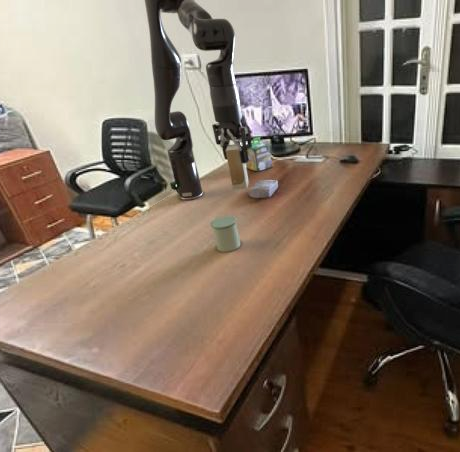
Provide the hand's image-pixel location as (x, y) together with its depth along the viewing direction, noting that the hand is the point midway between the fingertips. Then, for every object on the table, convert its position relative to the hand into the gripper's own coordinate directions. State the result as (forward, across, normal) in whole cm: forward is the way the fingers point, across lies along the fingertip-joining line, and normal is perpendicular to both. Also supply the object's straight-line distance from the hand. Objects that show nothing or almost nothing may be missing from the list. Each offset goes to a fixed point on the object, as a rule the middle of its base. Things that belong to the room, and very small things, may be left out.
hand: (236, 160), depth 104 cm
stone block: (+23, +19, -25) cm, 39 cm away
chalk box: (+23, +44, -46) cm, 68 cm away
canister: (+23, -3, +10) cm, 26 cm away
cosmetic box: (+8, 0, 0) cm, 8 cm away
